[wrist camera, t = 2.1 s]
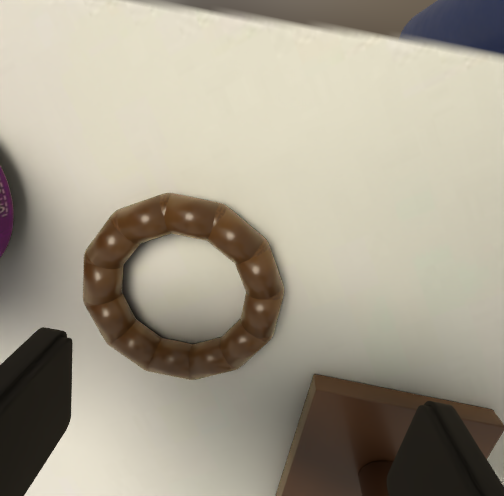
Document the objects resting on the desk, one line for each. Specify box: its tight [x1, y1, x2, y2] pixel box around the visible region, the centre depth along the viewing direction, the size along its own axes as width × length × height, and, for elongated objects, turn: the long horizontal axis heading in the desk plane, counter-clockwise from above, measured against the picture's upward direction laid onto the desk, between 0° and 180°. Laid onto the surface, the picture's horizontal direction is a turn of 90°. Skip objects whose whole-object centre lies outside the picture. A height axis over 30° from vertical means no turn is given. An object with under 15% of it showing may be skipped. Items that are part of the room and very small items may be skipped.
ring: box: [83, 193, 284, 380], centre depth 14 cm, size 8×8×1 cm
